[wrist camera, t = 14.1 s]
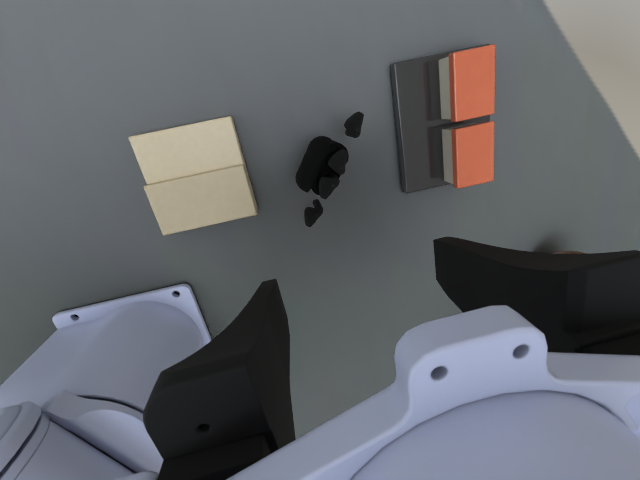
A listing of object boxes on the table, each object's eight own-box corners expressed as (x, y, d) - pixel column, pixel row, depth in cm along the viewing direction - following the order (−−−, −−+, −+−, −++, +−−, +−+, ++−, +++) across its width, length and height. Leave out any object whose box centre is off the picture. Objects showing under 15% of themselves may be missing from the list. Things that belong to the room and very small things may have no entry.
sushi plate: (401, 191, 23) (418, 201, 20) (389, 65, 20) (406, 57, 17) (482, 173, 23) (509, 180, 21) (482, 46, 20) (513, 35, 18)
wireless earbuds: (311, 214, 23) (320, 240, 18) (277, 200, 22) (278, 223, 17) (356, 117, 21) (380, 117, 16) (321, 98, 20) (335, 93, 15)
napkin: (169, 228, 22) (162, 236, 20) (133, 136, 19) (122, 137, 18) (258, 209, 22) (257, 215, 21) (232, 115, 20) (229, 115, 18)
